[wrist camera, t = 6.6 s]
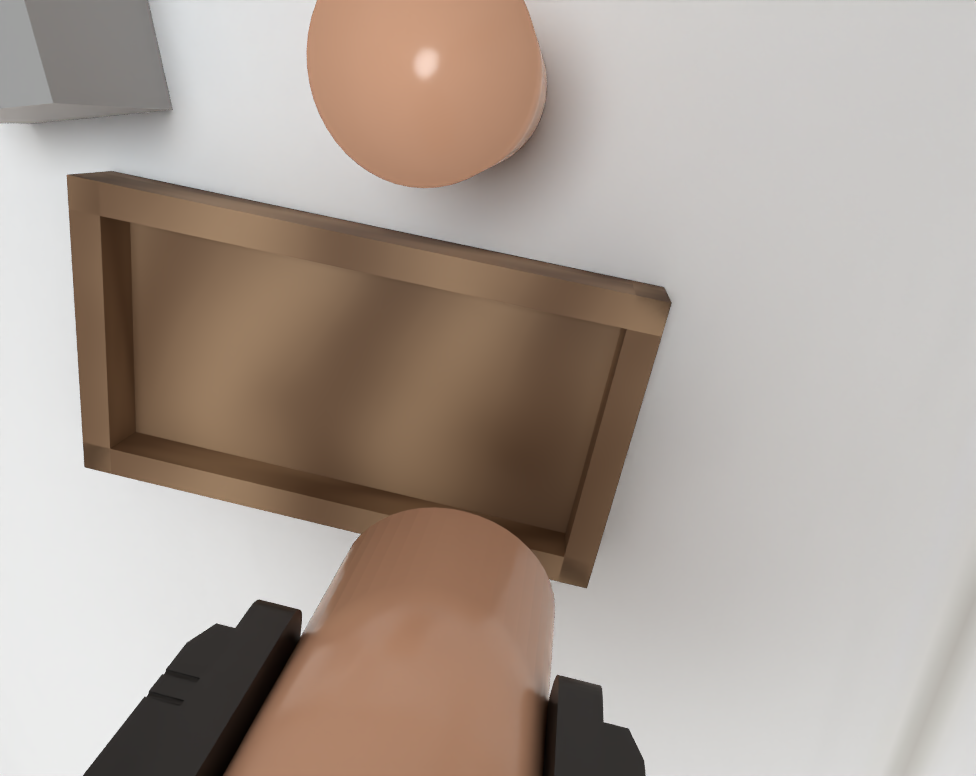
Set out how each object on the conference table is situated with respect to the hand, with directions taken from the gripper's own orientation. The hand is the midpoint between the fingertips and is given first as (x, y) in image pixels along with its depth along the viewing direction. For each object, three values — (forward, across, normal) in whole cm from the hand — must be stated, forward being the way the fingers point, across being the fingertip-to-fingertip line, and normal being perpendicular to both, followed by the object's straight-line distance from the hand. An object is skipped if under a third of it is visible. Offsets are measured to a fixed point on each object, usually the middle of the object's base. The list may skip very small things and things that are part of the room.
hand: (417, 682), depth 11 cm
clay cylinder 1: (+12, +3, -9) cm, 16 cm away
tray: (+12, +5, 0) cm, 13 cm away
